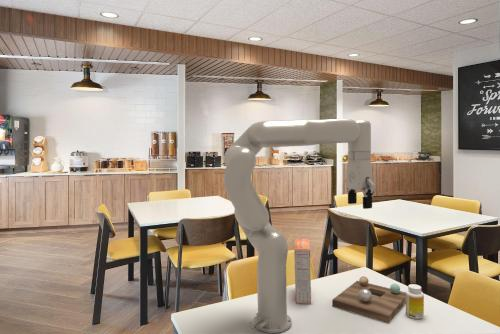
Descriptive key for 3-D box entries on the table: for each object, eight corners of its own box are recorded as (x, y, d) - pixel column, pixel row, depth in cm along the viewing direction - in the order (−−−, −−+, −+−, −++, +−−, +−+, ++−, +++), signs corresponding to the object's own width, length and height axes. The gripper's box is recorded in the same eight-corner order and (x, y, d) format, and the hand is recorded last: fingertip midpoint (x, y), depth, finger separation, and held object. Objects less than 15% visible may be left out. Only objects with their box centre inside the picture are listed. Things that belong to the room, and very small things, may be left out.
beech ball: (366, 287, 138) (366, 279, 138) (357, 285, 140) (357, 277, 140) (369, 284, 141) (369, 276, 141) (361, 282, 143) (361, 274, 143)
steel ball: (369, 305, 123) (369, 293, 123) (356, 302, 126) (356, 289, 126) (373, 301, 127) (373, 288, 126) (361, 297, 130) (361, 285, 129)
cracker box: (295, 288, 145) (294, 237, 144) (310, 288, 144) (309, 238, 143) (294, 303, 131) (294, 248, 130) (311, 304, 131) (310, 248, 129)
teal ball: (398, 295, 131) (398, 286, 130) (388, 293, 133) (388, 284, 132) (401, 292, 133) (401, 283, 133) (391, 290, 135) (391, 281, 135)
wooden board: (388, 323, 116) (388, 316, 116) (332, 306, 129) (332, 299, 129) (408, 299, 133) (408, 293, 133) (357, 286, 146) (357, 280, 145)
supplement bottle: (427, 318, 119) (427, 288, 118) (412, 320, 117) (413, 290, 117) (416, 310, 124) (416, 282, 123) (402, 312, 123) (402, 284, 122)
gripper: (337, 156, 130) (337, 202, 131) (363, 158, 113) (363, 211, 114) (355, 155, 132) (356, 201, 133) (384, 157, 115) (384, 209, 116)
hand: (359, 205), depth 124 cm, fingers open, 9 cm apart
